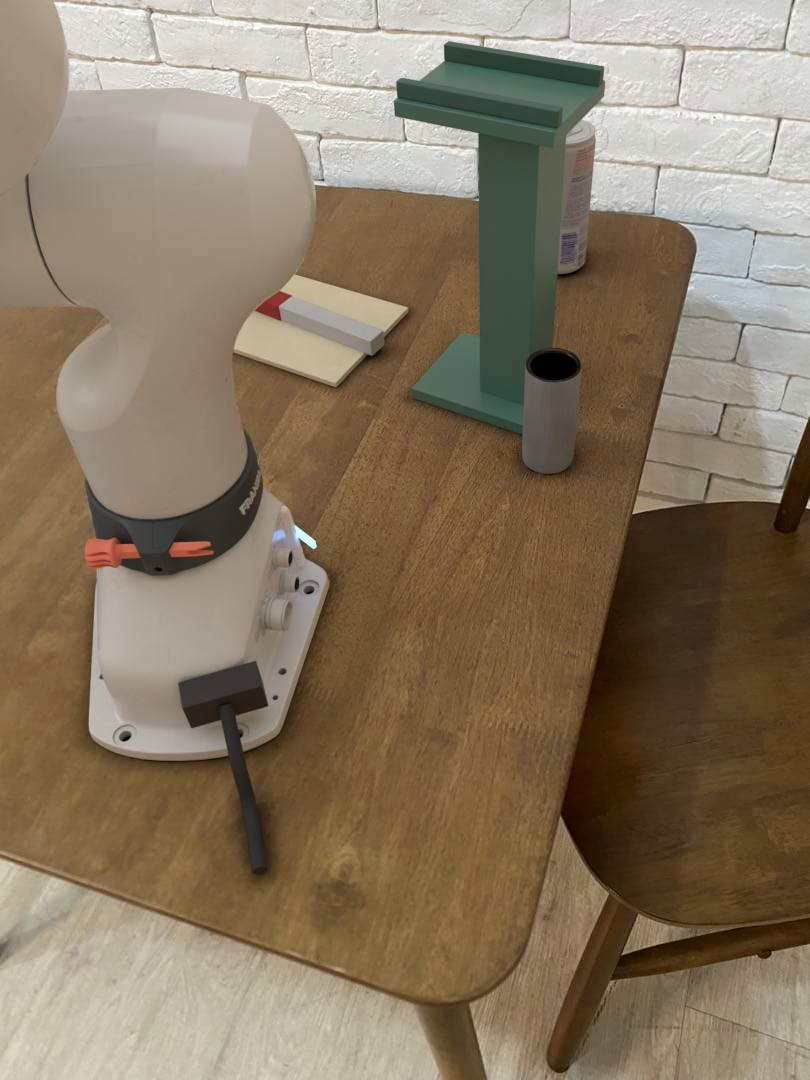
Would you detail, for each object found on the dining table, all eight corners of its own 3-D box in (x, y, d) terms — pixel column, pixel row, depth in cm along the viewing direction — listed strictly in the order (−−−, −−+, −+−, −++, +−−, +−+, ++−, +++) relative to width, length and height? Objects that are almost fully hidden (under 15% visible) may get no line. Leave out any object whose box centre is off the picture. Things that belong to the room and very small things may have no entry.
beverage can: (584, 249, 105) (595, 115, 94) (585, 277, 102) (597, 141, 90) (534, 249, 106) (539, 116, 95) (533, 277, 102) (539, 142, 91)
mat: (408, 312, 99) (408, 307, 99) (336, 387, 92) (335, 383, 91) (231, 259, 109) (230, 255, 108) (151, 324, 101) (150, 320, 100)
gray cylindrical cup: (513, 466, 83) (516, 373, 75) (533, 434, 85) (538, 341, 78) (561, 480, 81) (569, 387, 74) (580, 448, 84) (590, 354, 76)
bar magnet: (385, 344, 95) (384, 329, 94) (371, 356, 94) (369, 342, 92) (232, 286, 104) (229, 271, 102) (218, 296, 103) (214, 282, 101)
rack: (580, 376, 90) (610, 60, 69) (535, 439, 85) (552, 117, 63) (461, 341, 95) (454, 35, 74) (412, 398, 90) (388, 86, 68)
